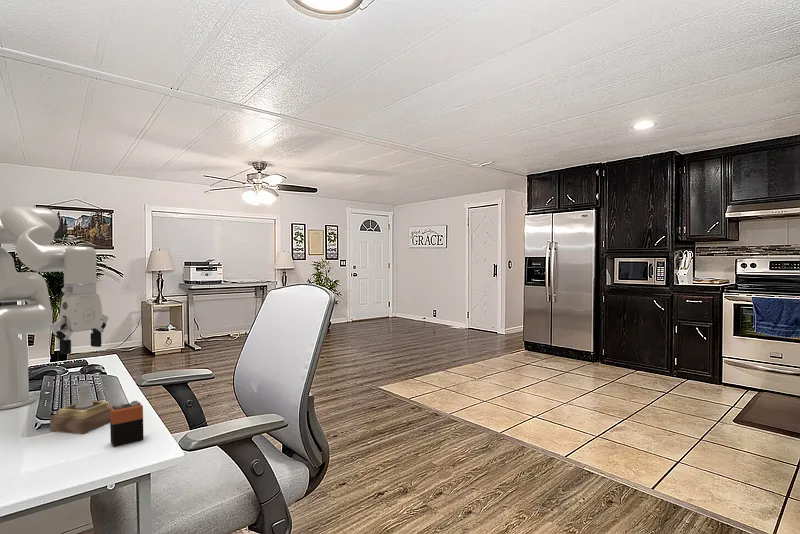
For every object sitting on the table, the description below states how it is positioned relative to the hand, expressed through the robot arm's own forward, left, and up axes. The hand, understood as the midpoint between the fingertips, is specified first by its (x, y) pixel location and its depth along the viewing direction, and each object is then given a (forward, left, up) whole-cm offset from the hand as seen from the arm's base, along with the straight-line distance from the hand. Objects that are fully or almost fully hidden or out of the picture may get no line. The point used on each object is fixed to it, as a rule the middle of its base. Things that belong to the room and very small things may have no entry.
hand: (81, 350), depth 130 cm
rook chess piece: (+2, -1, -17) cm, 17 cm away
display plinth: (+2, -2, -21) cm, 21 cm away
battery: (+23, -9, -21) cm, 32 cm away
